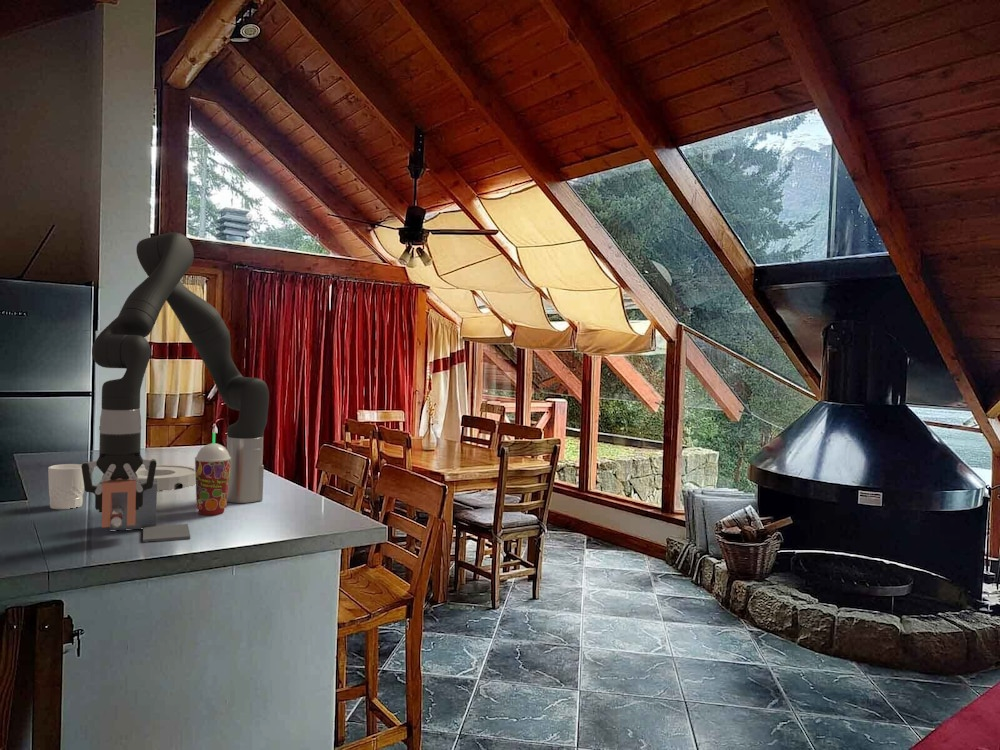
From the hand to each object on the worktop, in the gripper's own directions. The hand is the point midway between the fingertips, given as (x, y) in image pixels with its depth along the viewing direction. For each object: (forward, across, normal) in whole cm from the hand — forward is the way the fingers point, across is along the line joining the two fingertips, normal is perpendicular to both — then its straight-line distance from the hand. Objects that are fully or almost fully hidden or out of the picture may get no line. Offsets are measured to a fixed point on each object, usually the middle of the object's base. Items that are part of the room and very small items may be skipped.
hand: (119, 510), depth 143 cm
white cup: (+7, +12, -36) cm, 39 cm away
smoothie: (+7, -20, -20) cm, 29 cm away
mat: (+6, -9, -2) cm, 11 cm away
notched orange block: (+3, 0, 0) cm, 3 cm away
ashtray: (+7, -8, -62) cm, 63 cm away
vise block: (+6, -3, -5) cm, 8 cm away
